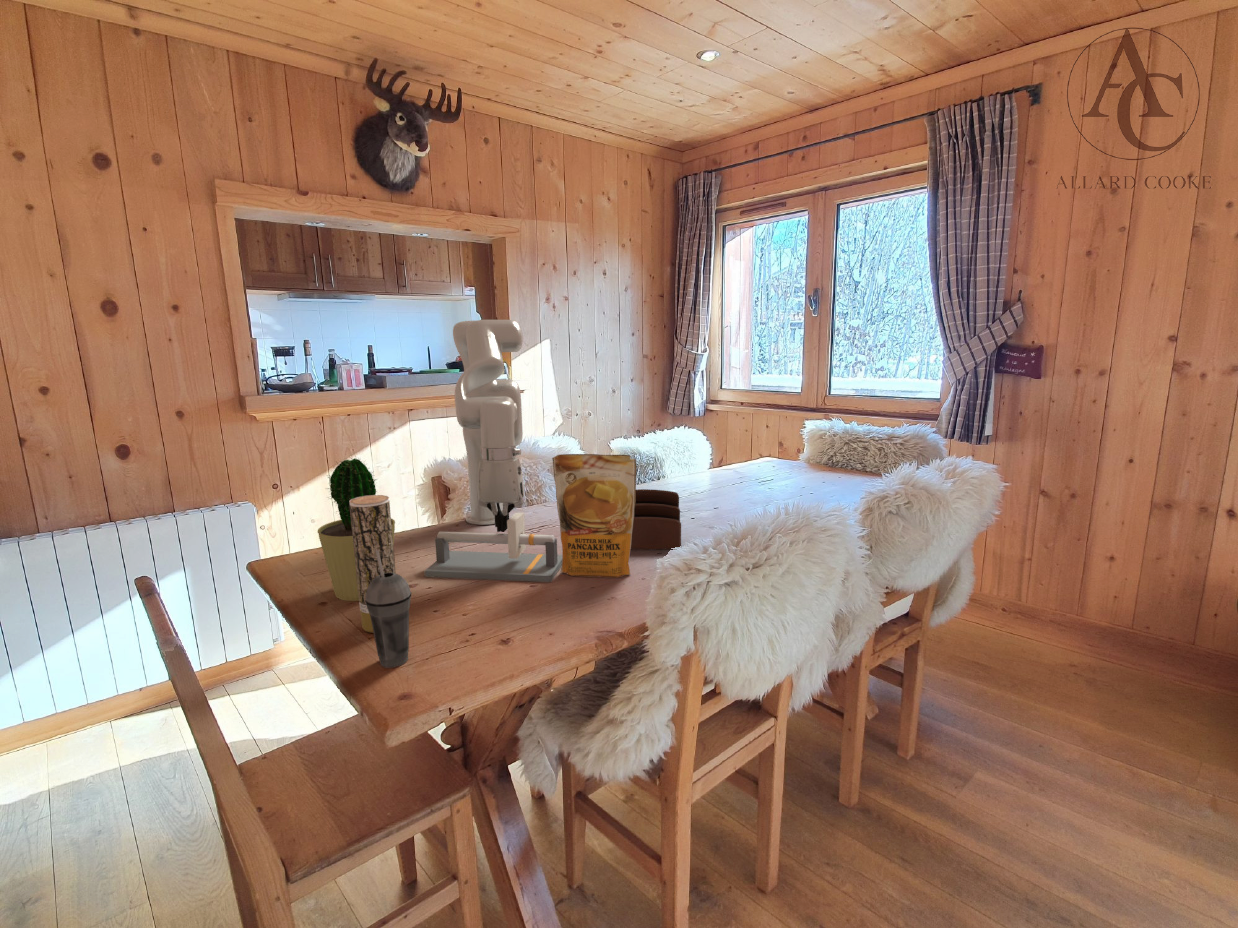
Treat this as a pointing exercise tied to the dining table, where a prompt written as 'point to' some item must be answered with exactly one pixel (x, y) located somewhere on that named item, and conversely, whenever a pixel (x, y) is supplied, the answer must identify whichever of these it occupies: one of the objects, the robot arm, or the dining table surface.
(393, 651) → the beverage cup
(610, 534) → the pancake mix bag
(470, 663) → the dining table surface
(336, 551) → the potted cactus
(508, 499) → the robot arm
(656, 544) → the letter holder
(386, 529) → the bark wrapped tube
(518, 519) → the collar
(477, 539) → the pipe rig
